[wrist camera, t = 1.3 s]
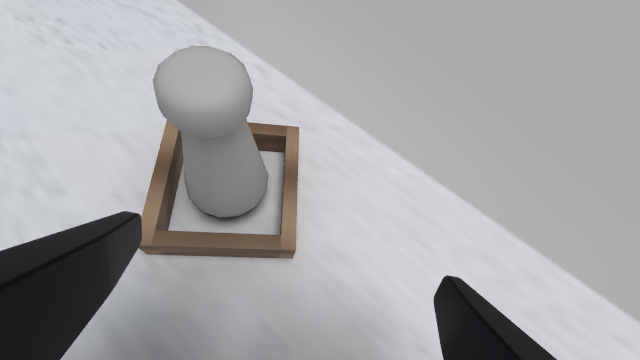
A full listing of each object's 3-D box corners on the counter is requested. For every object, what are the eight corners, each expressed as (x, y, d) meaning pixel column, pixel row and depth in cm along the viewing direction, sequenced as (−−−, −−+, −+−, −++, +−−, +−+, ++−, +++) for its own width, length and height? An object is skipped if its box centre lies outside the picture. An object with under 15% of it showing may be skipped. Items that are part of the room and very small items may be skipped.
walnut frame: (292, 258, 23) (295, 250, 21) (147, 254, 22) (134, 245, 20) (296, 143, 28) (299, 127, 26) (176, 133, 27) (168, 115, 24)
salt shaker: (245, 150, 27) (230, 11, 15) (281, 202, 25) (294, 91, 14) (179, 181, 25) (104, 47, 13) (214, 241, 23) (163, 147, 12)
